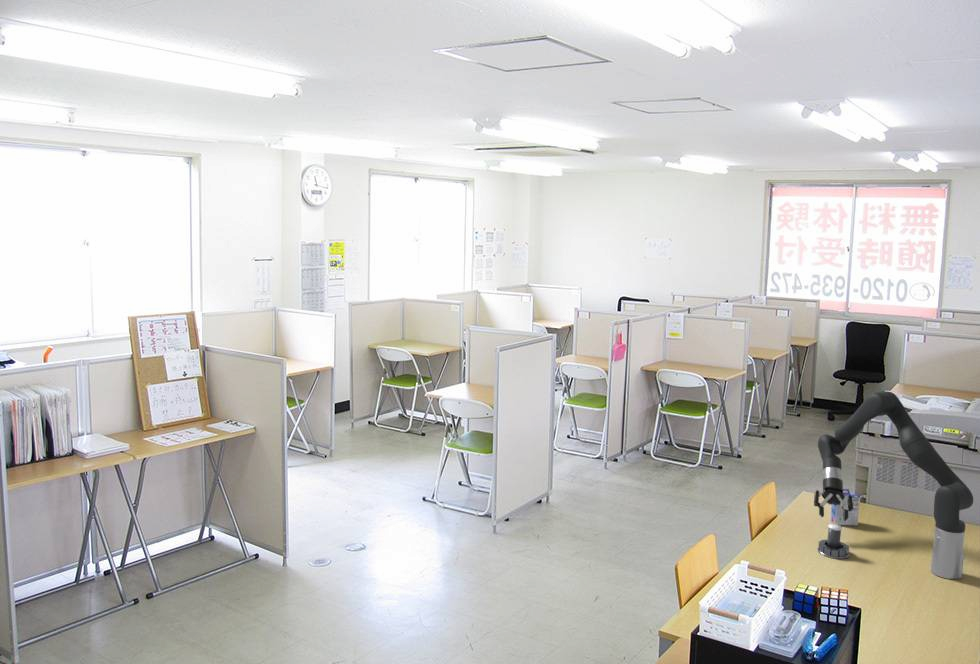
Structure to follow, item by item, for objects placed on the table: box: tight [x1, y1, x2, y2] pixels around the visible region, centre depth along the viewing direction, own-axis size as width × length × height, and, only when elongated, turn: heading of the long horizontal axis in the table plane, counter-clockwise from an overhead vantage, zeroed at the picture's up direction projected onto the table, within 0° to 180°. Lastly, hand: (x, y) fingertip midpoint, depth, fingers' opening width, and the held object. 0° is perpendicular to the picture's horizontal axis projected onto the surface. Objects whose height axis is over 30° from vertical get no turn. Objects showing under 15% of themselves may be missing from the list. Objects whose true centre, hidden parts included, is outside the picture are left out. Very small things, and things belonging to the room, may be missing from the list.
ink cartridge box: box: [830, 488, 861, 526], centre depth 328 cm, size 10×6×14 cm, turn 89°
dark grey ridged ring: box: [817, 539, 850, 560], centre depth 298 cm, size 11×11×3 cm
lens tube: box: [826, 523, 843, 549], centre depth 298 cm, size 5×5×10 cm
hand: (833, 518), depth 308 cm, fingers open, 8 cm apart
